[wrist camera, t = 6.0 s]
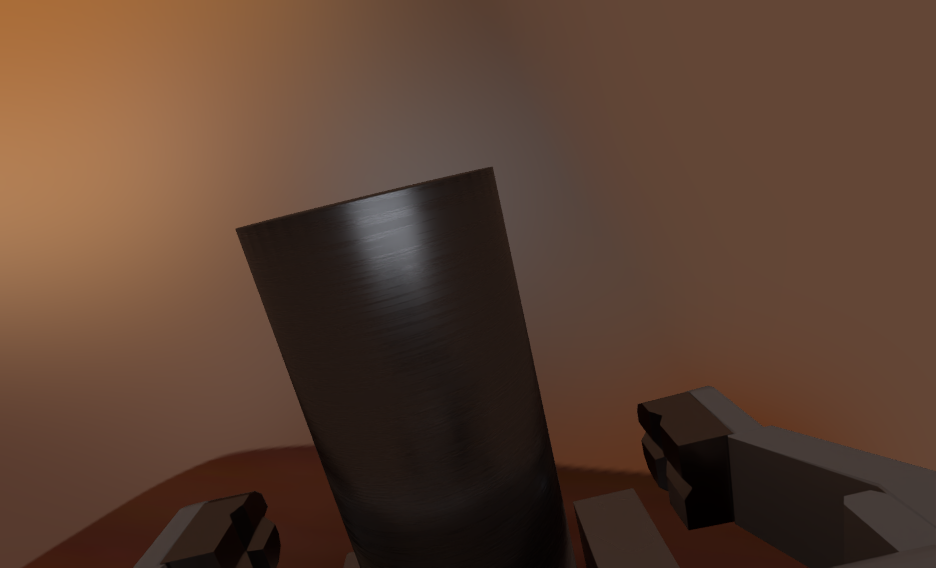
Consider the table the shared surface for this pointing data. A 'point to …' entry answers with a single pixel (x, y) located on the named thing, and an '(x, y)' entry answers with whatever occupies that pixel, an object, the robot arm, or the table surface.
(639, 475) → the table surface
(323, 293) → the dark rounded handle
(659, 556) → the socket
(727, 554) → the table surface
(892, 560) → the robot arm
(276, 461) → the table surface
